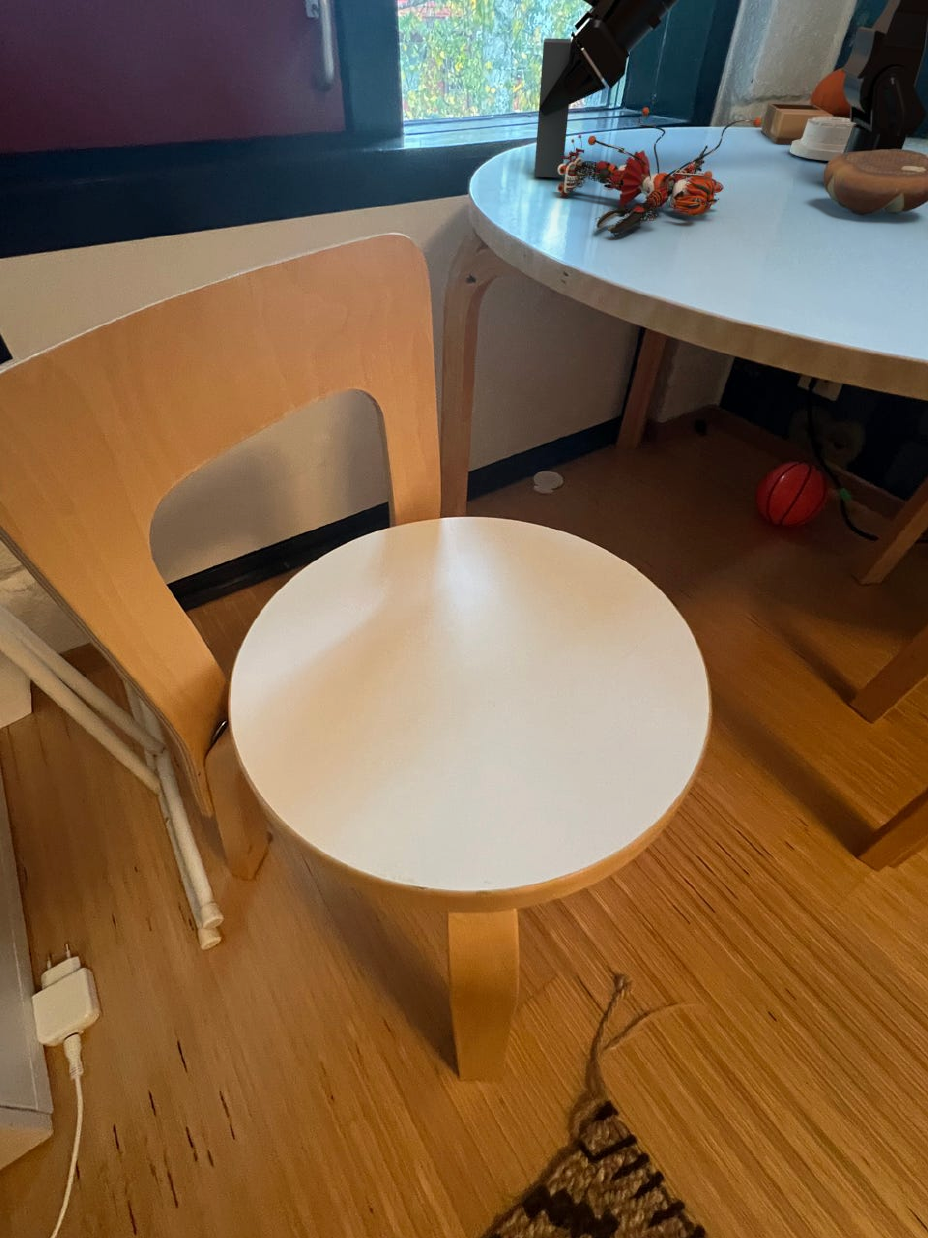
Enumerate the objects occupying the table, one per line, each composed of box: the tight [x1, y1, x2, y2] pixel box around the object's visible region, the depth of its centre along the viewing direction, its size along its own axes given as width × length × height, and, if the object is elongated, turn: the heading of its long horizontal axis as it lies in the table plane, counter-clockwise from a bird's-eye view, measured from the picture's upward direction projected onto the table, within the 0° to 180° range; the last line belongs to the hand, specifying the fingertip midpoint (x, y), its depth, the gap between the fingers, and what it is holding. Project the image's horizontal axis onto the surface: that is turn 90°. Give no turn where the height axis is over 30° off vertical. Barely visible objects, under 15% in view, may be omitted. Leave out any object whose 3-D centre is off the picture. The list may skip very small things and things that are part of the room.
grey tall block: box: [533, 37, 571, 178], centre depth 84 cm, size 4×5×13 cm
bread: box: [822, 148, 928, 216], centre depth 76 cm, size 11×11×5 cm
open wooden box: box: [760, 102, 833, 145], centre depth 109 cm, size 11×7×4 cm
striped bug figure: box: [557, 106, 763, 237], centre depth 74 cm, size 25×9×20 cm
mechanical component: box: [789, 117, 856, 162], centre depth 98 cm, size 10×4×10 cm
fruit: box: [809, 67, 850, 119], centre depth 118 cm, size 9×9×8 cm
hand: (542, 108), depth 84 cm, fingers closed on grey tall block, 5 cm apart
